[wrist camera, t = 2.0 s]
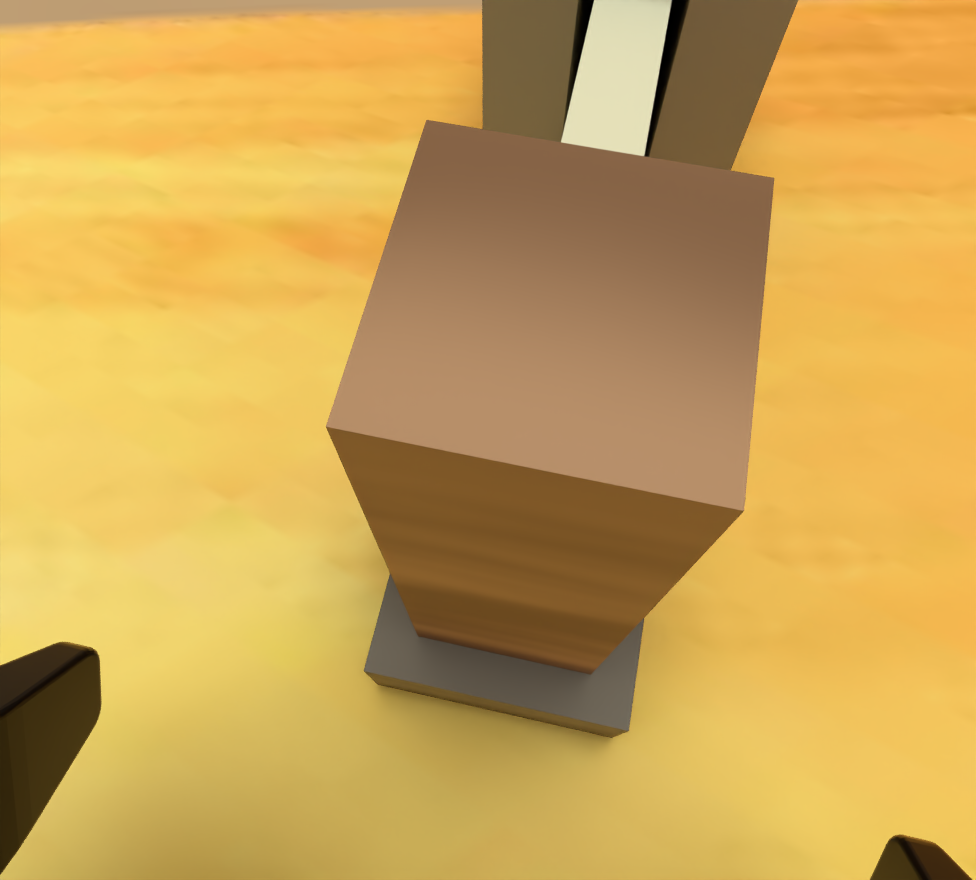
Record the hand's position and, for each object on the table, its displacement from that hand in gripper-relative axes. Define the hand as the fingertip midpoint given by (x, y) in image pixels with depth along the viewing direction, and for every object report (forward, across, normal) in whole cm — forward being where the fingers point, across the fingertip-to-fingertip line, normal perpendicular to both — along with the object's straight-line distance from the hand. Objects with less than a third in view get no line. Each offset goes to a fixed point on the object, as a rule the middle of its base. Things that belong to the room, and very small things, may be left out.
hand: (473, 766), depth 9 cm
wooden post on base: (+11, 0, +5) cm, 12 cm away
